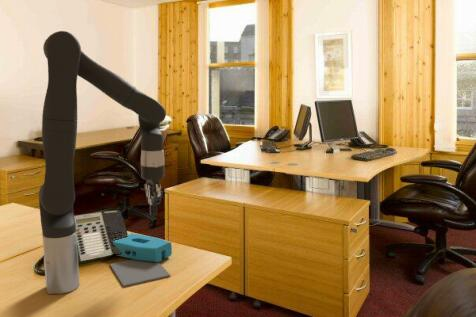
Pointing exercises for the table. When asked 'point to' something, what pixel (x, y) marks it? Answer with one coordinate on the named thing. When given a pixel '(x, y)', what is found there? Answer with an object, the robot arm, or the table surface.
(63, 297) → the table surface
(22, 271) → the table surface
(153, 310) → the table surface
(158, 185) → the robot arm
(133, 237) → the block
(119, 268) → the mat
